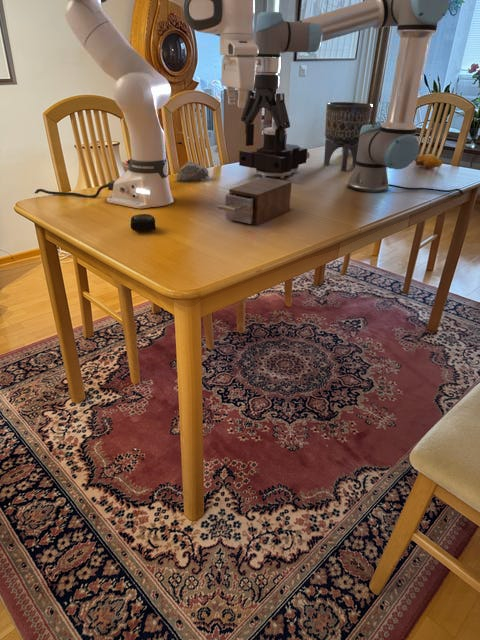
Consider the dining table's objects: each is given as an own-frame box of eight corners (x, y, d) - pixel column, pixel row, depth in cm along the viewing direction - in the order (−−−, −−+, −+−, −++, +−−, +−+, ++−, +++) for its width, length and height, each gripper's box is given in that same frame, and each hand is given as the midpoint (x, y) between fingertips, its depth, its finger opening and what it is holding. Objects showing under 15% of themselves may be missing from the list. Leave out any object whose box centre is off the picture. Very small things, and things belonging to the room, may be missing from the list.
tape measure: (131, 234, 126) (129, 221, 124) (132, 226, 132) (131, 213, 130) (155, 233, 127) (154, 220, 125) (156, 225, 133) (155, 213, 131)
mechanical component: (240, 120, 182) (283, 115, 202) (239, 174, 192) (280, 164, 212) (283, 126, 170) (325, 120, 190) (280, 183, 180) (320, 171, 200)
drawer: (238, 229, 129) (239, 204, 126) (213, 222, 134) (213, 198, 130) (282, 209, 147) (283, 187, 143) (258, 204, 151) (259, 182, 148)
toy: (416, 161, 206) (411, 154, 219) (419, 175, 209) (413, 167, 222) (442, 153, 203) (435, 147, 216) (444, 167, 206) (437, 160, 219)
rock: (201, 174, 189) (200, 158, 186) (213, 179, 184) (213, 162, 180) (174, 179, 182) (173, 162, 178) (186, 184, 176) (186, 167, 173)
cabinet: (256, 225, 136) (257, 194, 131) (228, 218, 140) (229, 189, 136) (289, 209, 150) (291, 181, 145) (263, 204, 155) (264, 177, 150)
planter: (313, 167, 208) (319, 103, 195) (331, 160, 222) (338, 101, 209) (353, 173, 199) (362, 107, 185) (369, 166, 213) (379, 104, 199)
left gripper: (215, 48, 126) (216, 103, 133) (235, 46, 109) (235, 110, 116) (237, 48, 127) (237, 102, 134) (260, 47, 110) (258, 109, 117)
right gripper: (231, 72, 142) (230, 143, 153) (287, 75, 126) (282, 155, 136) (249, 72, 146) (247, 142, 157) (306, 75, 130) (299, 153, 141)
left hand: (236, 106), depth 125 cm, fingers open, 8 cm apart
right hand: (263, 148), depth 147 cm, fingers open, 13 cm apart
